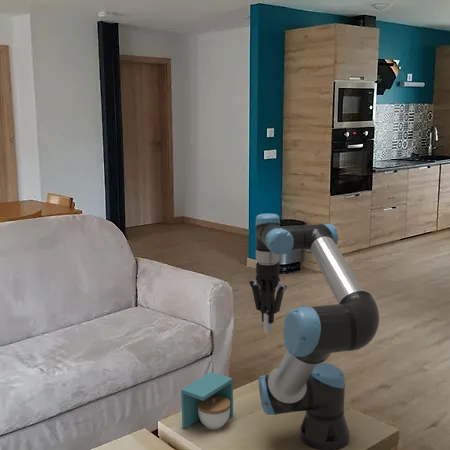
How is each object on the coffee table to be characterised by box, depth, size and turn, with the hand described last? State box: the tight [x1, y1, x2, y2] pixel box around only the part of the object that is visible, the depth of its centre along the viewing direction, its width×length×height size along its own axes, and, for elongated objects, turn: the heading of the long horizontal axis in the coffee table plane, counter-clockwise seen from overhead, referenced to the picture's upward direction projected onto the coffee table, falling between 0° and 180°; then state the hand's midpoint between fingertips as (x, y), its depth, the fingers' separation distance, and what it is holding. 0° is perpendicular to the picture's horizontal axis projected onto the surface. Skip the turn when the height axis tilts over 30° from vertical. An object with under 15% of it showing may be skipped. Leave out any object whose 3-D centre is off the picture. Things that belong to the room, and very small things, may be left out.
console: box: [180, 371, 234, 430], centre depth 194 cm, size 9×16×14 cm, turn 144°
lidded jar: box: [197, 395, 230, 430], centre depth 193 cm, size 11×11×9 cm
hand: (267, 331), depth 194 cm, fingers closed
